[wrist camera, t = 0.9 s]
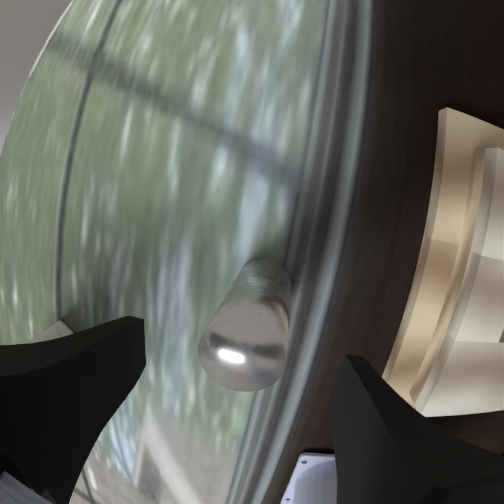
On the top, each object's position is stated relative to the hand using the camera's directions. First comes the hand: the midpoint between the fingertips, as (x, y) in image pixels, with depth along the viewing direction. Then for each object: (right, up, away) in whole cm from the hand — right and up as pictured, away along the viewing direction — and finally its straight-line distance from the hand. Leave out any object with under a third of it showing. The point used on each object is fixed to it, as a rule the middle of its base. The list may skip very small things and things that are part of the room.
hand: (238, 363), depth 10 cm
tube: (+1, +2, +8) cm, 9 cm away
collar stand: (+18, +1, +6) cm, 19 cm away
